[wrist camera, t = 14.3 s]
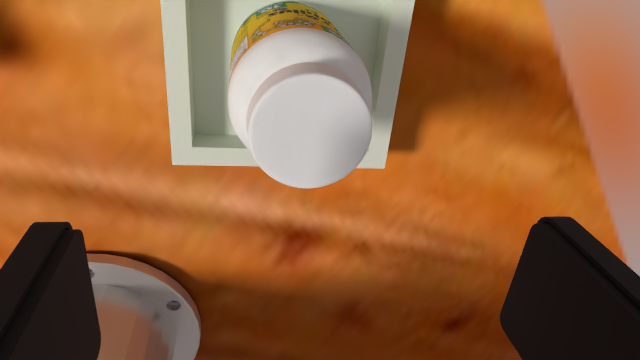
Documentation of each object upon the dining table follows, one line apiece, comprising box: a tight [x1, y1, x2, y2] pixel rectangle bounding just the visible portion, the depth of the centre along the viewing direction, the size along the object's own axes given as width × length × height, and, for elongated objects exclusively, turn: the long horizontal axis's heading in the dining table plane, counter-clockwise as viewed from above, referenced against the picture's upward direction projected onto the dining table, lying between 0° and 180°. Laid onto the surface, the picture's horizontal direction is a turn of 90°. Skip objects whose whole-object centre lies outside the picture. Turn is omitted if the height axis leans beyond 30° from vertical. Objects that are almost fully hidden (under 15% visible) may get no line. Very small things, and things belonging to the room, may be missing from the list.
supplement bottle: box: [228, 1, 372, 188], centre depth 19 cm, size 5×5×10 cm
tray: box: [160, 0, 415, 168], centre depth 23 cm, size 11×11×2 cm
